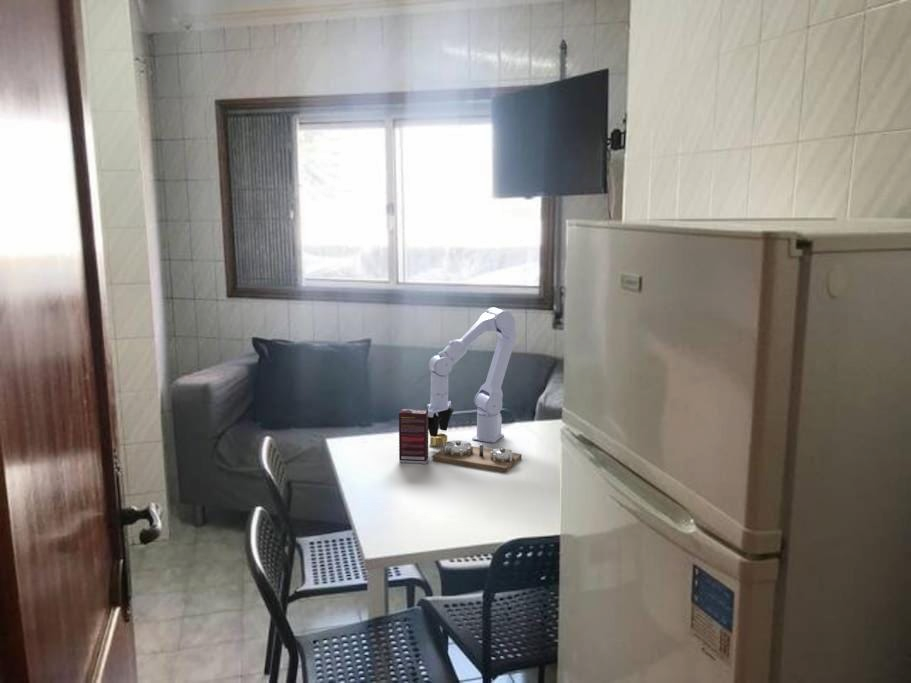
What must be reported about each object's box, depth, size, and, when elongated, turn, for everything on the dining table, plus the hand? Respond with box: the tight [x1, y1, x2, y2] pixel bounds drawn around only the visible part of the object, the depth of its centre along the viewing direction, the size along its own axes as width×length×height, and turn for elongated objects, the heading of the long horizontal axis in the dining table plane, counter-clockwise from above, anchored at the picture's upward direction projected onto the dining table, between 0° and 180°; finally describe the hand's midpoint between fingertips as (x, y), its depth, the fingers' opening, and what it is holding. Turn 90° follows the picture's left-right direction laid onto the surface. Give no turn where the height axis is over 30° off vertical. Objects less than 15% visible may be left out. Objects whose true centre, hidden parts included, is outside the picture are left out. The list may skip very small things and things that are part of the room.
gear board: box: [432, 439, 522, 474], centre depth 233 cm, size 14×24×5 cm, turn 66°
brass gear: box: [429, 432, 448, 447], centre depth 247 cm, size 6×6×3 cm
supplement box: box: [398, 408, 429, 465], centre depth 230 cm, size 9×5×16 cm, turn 84°
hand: (438, 433), depth 246 cm, fingers open, 7 cm apart
